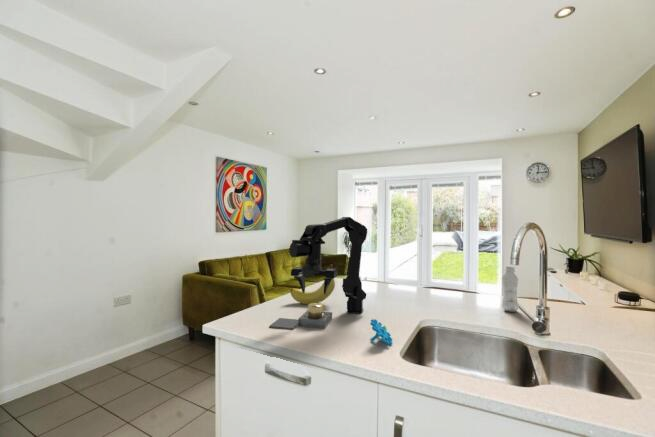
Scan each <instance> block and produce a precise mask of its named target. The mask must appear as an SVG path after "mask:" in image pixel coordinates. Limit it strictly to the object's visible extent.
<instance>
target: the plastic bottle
mask: <svg viewBox="0 0 655 437" xmlns="http://www.w3.org/2000/svg"><path fill="white" fill-rule="evenodd" d="M504 271H505V273H504V274H503V275H502V277H501V280H502V287H503V288H502V289H503V290H502V291H503V295H502V296H503V297H502V303H501V307H502V309H503V310H504V311H507V312H510V313H514V312H515V313H516V312H517V311H518V310H519V302H518V296H517V295H518V292H517V291H518V284H519V278H518V276H517V274H516V273H515V272H516V268H515V267H514V266H505V270H504Z"/></svg>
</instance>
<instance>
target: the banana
mask: <svg viewBox="0 0 655 437" xmlns="http://www.w3.org/2000/svg"><path fill="white" fill-rule="evenodd" d="M333 267H334V265H333V264H332V263H331V264H329V266H328V267H327V268H326V270H327V269H334V268H333ZM335 287H336V281H335V278H333V279H332V280H331V282H330V284H329V286H328V289H327V292H326V294H324V282H323V283H322V284H321V286H319V288H317V289H315V290H313V291H306V290H305V293H303V292H302V289H298V288H291V289H290V295H291V297H292V298H293V300H294V301H296V302H298V303H300V304H303V305H309V304H311V303H321V302H323V301H325V300H326V299H327V298H328V297H330V296H331V295H332V293H333V292H334V290H335Z"/></svg>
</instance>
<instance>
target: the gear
mask: <svg viewBox="0 0 655 437" xmlns="http://www.w3.org/2000/svg"><path fill="white" fill-rule="evenodd" d="M382 325H383V324H382V322H379V321H378V319H375V318H372V319H371V320H370V326H372V327H371V329H372V331H374V332H376V333H375V335H374V336H372V337H371V338H370V341H371V343H372V342H374V341H375V340H376V339H378V338H380V337H381V338H380V340H381V342H382V343H384V342H385V345H387V346H389V345H393V337H391V334H390V332H388V328H387V326H386V325H383V326H382Z"/></svg>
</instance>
